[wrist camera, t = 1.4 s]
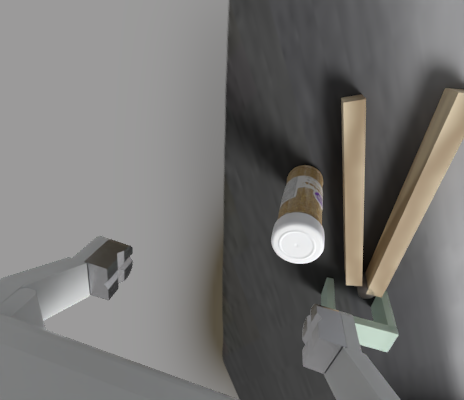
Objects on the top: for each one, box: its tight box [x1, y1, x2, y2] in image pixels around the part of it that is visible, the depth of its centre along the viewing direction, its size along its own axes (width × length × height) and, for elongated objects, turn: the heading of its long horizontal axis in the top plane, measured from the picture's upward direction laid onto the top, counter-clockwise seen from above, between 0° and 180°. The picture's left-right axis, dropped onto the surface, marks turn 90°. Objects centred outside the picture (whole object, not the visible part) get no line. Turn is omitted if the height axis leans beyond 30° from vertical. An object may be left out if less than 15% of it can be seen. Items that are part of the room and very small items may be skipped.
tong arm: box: [341, 94, 366, 286], centre depth 32 cm, size 2×24×3 cm, turn 12°
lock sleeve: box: [321, 277, 399, 352], centre depth 38 cm, size 8×4×7 cm, turn 87°
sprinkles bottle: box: [271, 165, 324, 264], centre depth 28 cm, size 5×5×14 cm
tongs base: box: [357, 88, 464, 299], centre depth 31 cm, size 3×27×3 cm, turn 177°
